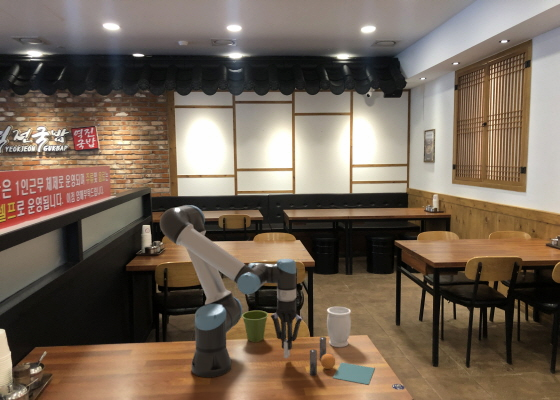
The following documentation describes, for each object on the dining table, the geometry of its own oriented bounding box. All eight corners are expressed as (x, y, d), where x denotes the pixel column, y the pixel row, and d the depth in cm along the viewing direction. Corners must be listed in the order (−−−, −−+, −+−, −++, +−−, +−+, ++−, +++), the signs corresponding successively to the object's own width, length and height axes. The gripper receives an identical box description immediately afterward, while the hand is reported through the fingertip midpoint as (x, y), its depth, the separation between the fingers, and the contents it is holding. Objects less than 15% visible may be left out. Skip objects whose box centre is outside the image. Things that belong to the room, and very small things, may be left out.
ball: (316, 363, 162) (325, 354, 160) (320, 357, 167) (329, 348, 165) (326, 374, 161) (336, 365, 159) (330, 368, 166) (339, 359, 164)
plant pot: (260, 332, 199) (260, 308, 198) (273, 341, 189) (273, 316, 188) (237, 337, 193) (237, 313, 192) (249, 346, 183) (248, 321, 182)
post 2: (318, 360, 170) (318, 338, 169) (320, 358, 172) (320, 336, 171) (325, 361, 169) (325, 339, 168) (326, 359, 171) (326, 337, 170)
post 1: (308, 375, 158) (308, 351, 157) (311, 372, 160) (311, 348, 160) (315, 376, 157) (315, 352, 156) (317, 373, 159) (317, 350, 159)
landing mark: (332, 378, 156) (332, 377, 156) (341, 362, 168) (341, 362, 168) (368, 384, 151) (368, 384, 151) (374, 368, 163) (374, 368, 163)
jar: (350, 349, 180) (350, 315, 179) (325, 347, 182) (325, 313, 181) (351, 339, 190) (351, 306, 189) (327, 337, 192) (328, 305, 191)
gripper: (267, 299, 166) (268, 357, 168) (299, 303, 161) (299, 363, 163) (275, 294, 173) (275, 350, 175) (305, 297, 168) (305, 355, 170)
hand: (286, 356), depth 169 cm, fingers closed
